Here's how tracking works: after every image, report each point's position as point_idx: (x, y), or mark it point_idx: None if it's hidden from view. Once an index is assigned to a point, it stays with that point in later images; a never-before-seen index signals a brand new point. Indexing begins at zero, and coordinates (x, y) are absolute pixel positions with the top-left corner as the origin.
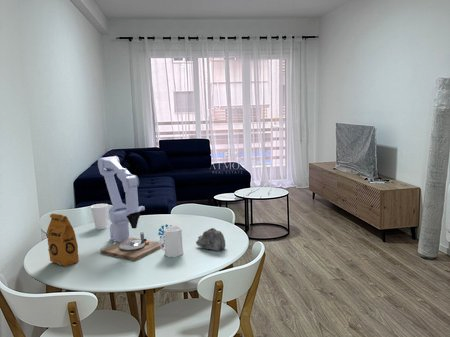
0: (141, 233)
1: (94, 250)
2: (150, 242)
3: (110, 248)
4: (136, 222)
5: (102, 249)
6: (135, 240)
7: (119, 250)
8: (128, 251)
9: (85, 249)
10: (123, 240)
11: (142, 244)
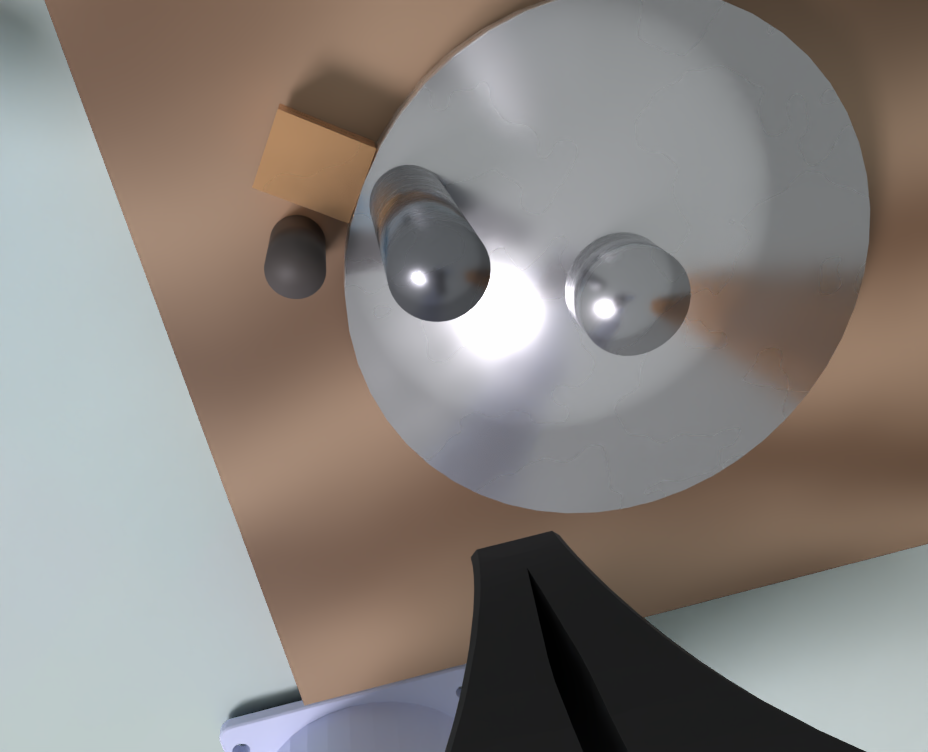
0: (480, 240)
1: (874, 649)
2: (196, 178)
3: (843, 486)
4: (535, 653)
5: (922, 535)
6: (436, 424)
7: None
8: None
9: (892, 745)
10: None
11: (509, 69)
